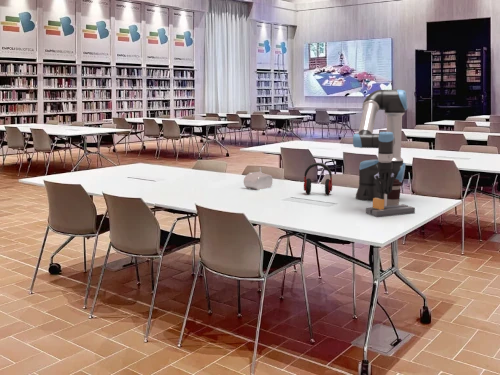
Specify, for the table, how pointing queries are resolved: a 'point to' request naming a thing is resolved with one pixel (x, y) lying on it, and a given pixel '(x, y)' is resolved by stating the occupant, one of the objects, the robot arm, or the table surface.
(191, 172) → the table surface
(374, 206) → the fader tab
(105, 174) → the table surface
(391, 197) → the coffee cup
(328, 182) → the headphones
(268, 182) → the vr headset
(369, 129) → the robot arm
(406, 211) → the slider console
